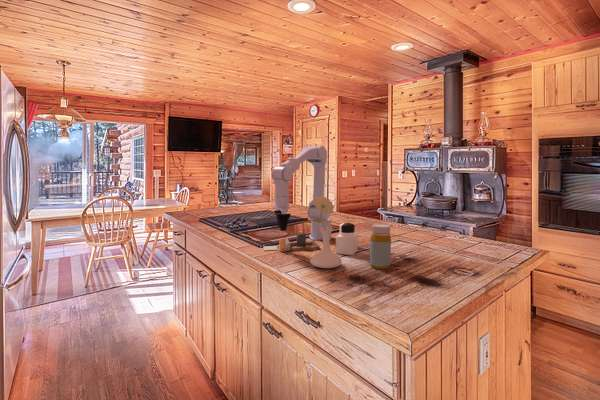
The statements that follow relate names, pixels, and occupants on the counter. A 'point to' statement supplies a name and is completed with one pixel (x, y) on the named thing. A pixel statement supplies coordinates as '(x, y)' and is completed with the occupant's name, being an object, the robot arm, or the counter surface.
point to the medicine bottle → (347, 239)
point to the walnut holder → (314, 247)
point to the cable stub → (301, 239)
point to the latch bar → (284, 244)
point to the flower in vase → (325, 237)
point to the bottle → (380, 246)
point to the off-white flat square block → (269, 248)
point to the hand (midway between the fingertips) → (282, 228)
